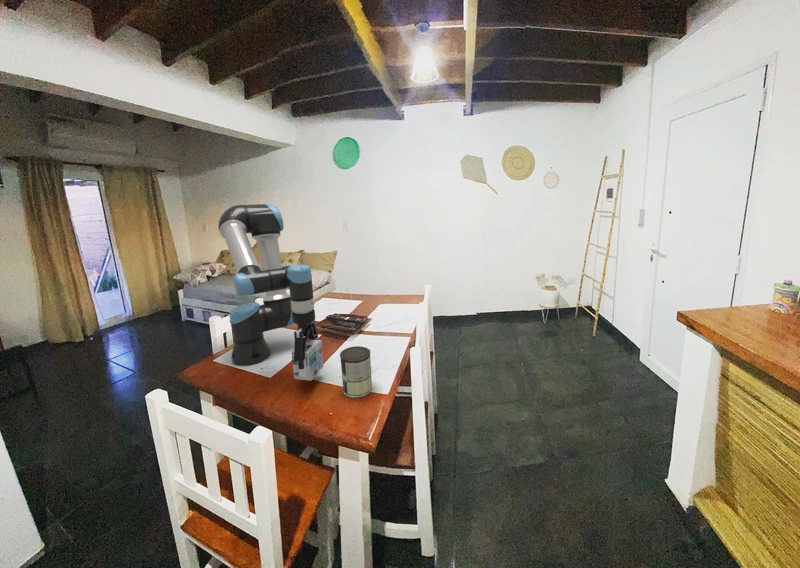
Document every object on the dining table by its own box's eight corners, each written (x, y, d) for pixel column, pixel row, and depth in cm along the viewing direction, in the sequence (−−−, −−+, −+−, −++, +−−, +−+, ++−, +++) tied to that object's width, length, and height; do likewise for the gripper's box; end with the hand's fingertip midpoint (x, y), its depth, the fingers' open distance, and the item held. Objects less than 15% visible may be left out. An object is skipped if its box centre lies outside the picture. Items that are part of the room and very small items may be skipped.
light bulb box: (311, 381, 108) (308, 353, 105) (293, 379, 110) (290, 351, 107) (324, 365, 118) (322, 339, 115) (308, 364, 120) (305, 338, 117)
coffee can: (336, 391, 109) (333, 355, 106) (356, 378, 117) (354, 343, 114) (358, 401, 103) (356, 363, 100) (378, 386, 111) (376, 350, 108)
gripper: (301, 323, 96) (308, 386, 102) (323, 299, 119) (328, 351, 124) (277, 323, 96) (285, 385, 102) (304, 299, 119) (309, 351, 125)
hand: (309, 367), depth 113 cm, fingers closed on light bulb box, 11 cm apart
